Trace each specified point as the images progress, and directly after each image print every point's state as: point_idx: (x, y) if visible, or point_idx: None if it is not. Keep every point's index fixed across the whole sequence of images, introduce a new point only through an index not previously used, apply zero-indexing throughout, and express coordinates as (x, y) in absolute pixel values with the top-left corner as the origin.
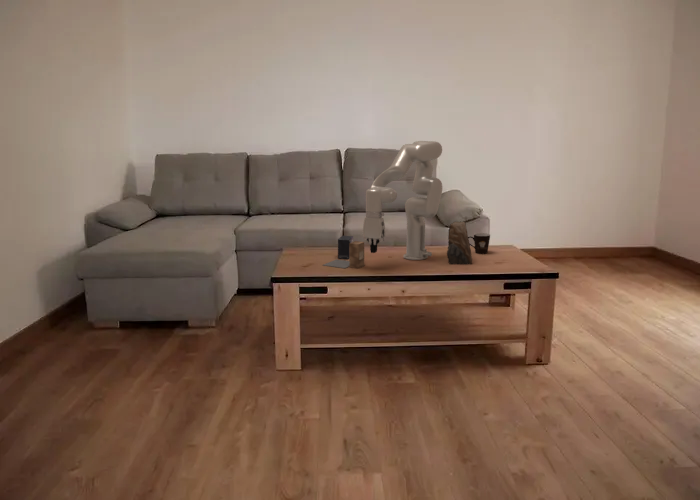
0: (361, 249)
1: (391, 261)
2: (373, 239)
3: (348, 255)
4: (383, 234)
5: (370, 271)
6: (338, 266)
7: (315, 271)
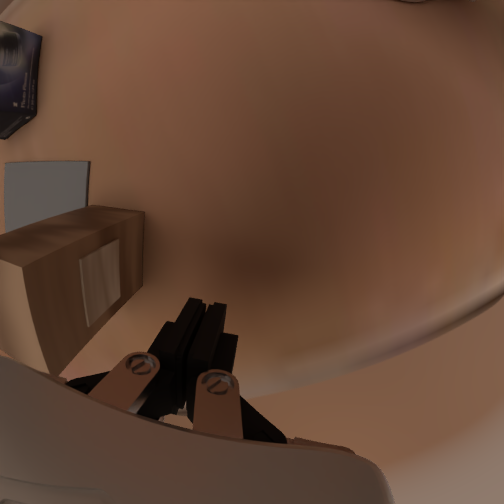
0: (73, 299)
1: (281, 36)
2: (134, 404)
3: (21, 114)
4: (351, 501)
5: (236, 330)
6: None
7: None
